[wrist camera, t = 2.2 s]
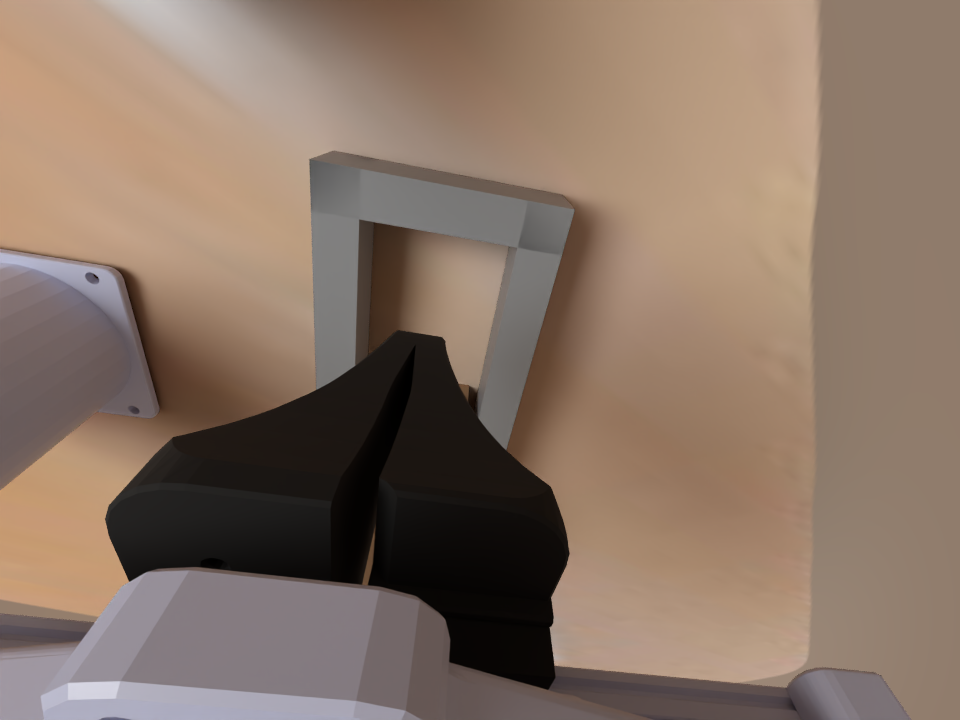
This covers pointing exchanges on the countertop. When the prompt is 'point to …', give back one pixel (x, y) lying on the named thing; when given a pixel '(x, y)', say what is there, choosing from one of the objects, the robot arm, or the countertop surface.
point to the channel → (444, 210)
